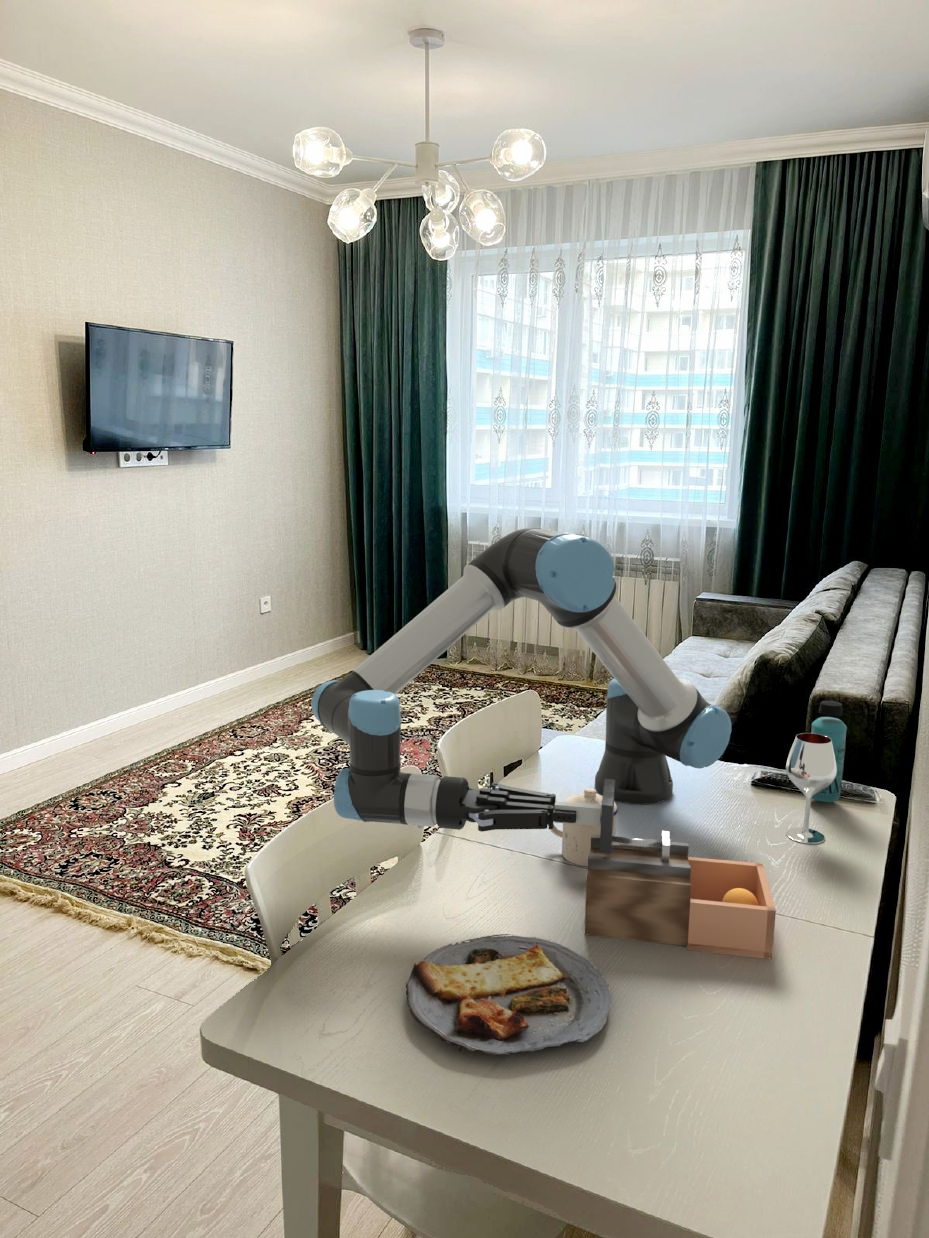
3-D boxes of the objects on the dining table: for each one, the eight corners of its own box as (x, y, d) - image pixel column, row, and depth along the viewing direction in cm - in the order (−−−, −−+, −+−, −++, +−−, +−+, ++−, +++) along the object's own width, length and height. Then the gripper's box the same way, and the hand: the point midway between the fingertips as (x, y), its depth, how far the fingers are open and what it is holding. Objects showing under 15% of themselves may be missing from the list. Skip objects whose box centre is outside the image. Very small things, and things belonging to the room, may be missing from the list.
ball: (708, 907, 130) (725, 879, 129) (731, 909, 133) (748, 881, 132) (731, 932, 126) (749, 903, 125) (754, 933, 129) (772, 904, 128)
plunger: (598, 868, 127) (601, 804, 125) (602, 838, 136) (604, 778, 134) (669, 875, 125) (672, 810, 123) (667, 844, 135) (670, 783, 133)
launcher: (584, 934, 128) (587, 864, 126) (589, 893, 139) (592, 828, 137) (687, 945, 125) (691, 874, 123) (683, 902, 137) (687, 837, 135)
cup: (687, 949, 124) (690, 902, 123) (683, 899, 138) (686, 856, 136) (771, 958, 122) (775, 910, 121) (759, 907, 136) (762, 863, 134)
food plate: (430, 1080, 98) (431, 1051, 98) (388, 965, 120) (388, 940, 120) (641, 1046, 105) (643, 1019, 105) (565, 943, 127) (566, 920, 127)
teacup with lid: (623, 850, 154) (625, 785, 152) (604, 872, 146) (607, 804, 144) (556, 835, 160) (558, 772, 157) (535, 856, 152) (537, 790, 149)
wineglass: (837, 847, 156) (847, 746, 153) (789, 846, 156) (797, 745, 153) (820, 826, 164) (828, 731, 161) (774, 826, 164) (782, 730, 161)
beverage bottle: (801, 805, 174) (810, 704, 170) (806, 793, 179) (815, 695, 175) (838, 812, 171) (848, 709, 167) (842, 800, 176) (851, 700, 173)
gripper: (448, 808, 142) (601, 821, 137) (428, 844, 129) (597, 860, 125) (448, 762, 140) (603, 774, 136) (428, 794, 128) (599, 808, 123)
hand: (600, 815), depth 130 cm, fingers closed
